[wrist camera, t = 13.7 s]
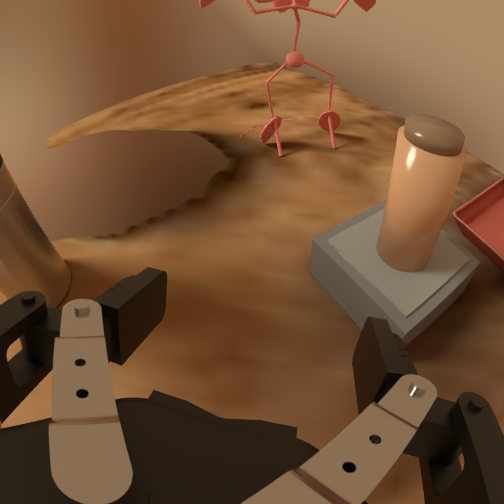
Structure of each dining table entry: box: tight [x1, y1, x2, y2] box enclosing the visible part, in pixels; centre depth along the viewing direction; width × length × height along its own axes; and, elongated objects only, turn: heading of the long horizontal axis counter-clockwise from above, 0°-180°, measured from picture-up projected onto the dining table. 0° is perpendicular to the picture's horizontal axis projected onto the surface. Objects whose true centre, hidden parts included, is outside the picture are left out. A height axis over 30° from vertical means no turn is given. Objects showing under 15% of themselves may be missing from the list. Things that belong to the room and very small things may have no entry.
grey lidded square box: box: [311, 201, 481, 346], centre depth 28 cm, size 12×12×5 cm
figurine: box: [199, 0, 376, 156], centre depth 41 cm, size 15×26×35 cm, turn 100°
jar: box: [376, 114, 467, 272], centre depth 22 cm, size 5×5×12 cm
